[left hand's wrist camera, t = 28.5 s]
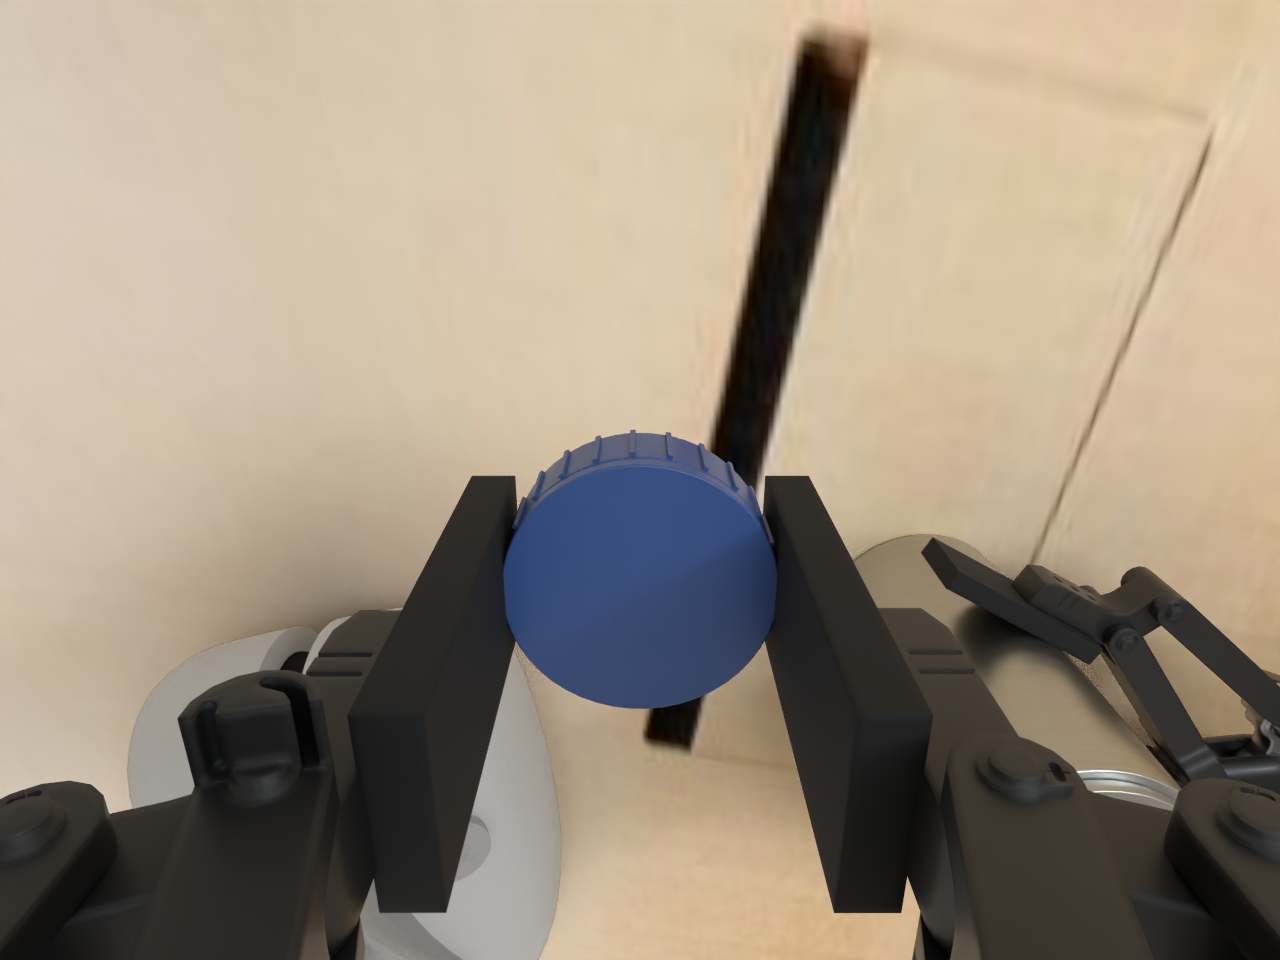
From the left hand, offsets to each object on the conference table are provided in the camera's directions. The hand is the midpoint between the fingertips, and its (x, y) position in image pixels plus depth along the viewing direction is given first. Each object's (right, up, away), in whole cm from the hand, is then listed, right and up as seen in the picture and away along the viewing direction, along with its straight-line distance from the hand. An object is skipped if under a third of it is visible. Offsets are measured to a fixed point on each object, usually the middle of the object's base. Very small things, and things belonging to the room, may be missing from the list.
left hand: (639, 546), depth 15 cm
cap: (0, -1, -1) cm, 1 cm away
